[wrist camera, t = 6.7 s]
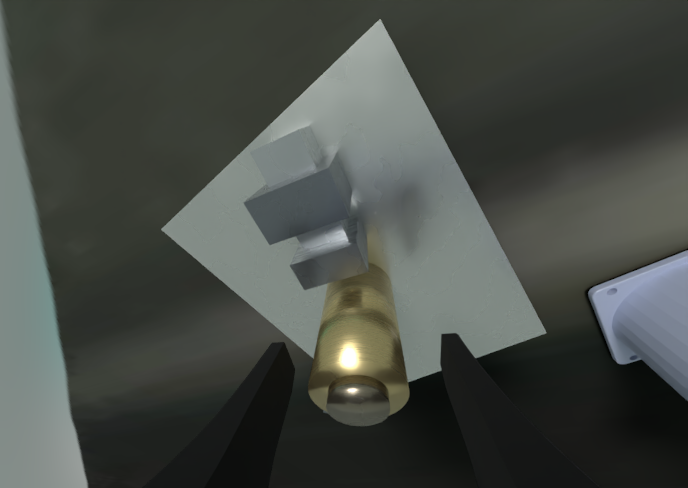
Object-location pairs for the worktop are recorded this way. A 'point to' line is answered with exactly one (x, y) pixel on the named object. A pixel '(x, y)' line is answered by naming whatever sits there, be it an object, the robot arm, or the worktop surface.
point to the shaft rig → (359, 216)
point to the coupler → (359, 351)
